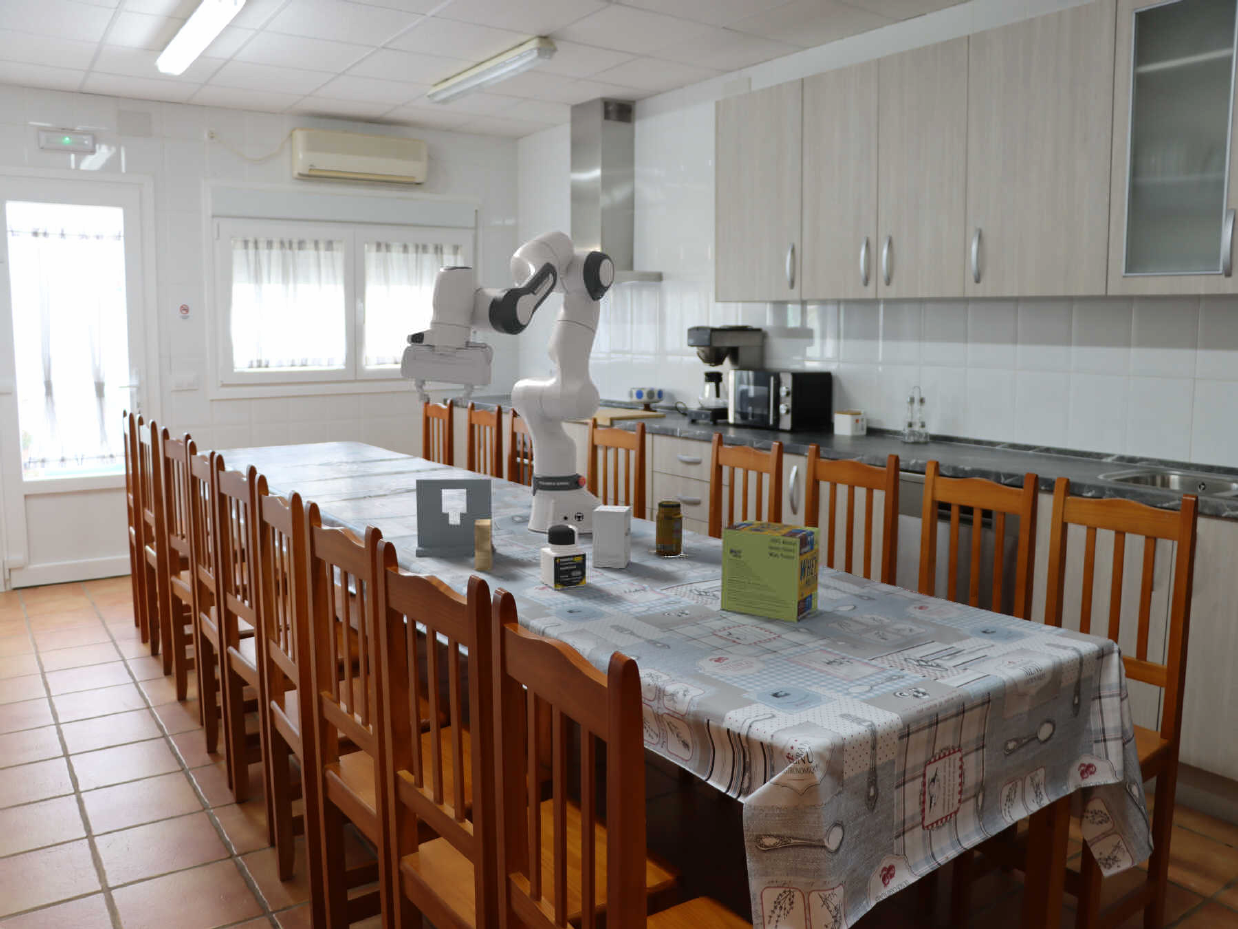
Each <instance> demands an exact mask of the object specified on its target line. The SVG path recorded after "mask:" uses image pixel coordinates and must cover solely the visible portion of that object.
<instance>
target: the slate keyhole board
mask: <svg viewBox="0 0 1238 929" xmlns="http://www.w3.org/2000/svg"><path fill="white" fill-rule="evenodd" d="M415 488H416V489H415V490H416V492H415V493H416V494H415V496H416V531H417V532H416V533H417V535H416V536H417V537H416V538H417V539H416V540H417V547H416V548H415V557H445V556H446V557H449V556H450V557H455V556H456V557H457V556H458V557H459V556H462V557H463V556H466V555H467V556H475V522H476V520H477V519H491V538H492V539H493V527H492V525H493V518H492V517H493V516H492V514H493V512H492V511H493V510H492V509H493V508H492V478H426V479H425V478H422V479H421V478H419V479H418V478H416V479H415ZM443 490H465V499H466V500H465V502H466V504H465V505H466V506H465V507H466V508H465V509H466V511H460V512H459V523H450V512H448V511H446V512H445V511H443ZM492 543H493V544H494V541H493V540H492Z"/></svg>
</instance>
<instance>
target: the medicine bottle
mask: <svg viewBox="0 0 1238 929" xmlns="http://www.w3.org/2000/svg"><path fill="white" fill-rule="evenodd" d="M547 546H548V547H542V548H540V582H541V583H542V582H543V583H542V584H544V585H546V584H547V585H548V586H547V585H546V586H547V587H549V586H550V587H549V588H551V587H552V588H553V590H554V589H557V590H560V589H559V588H565V587H571V586H580V587H582V586H581V585H585V586H587V552H586V551H585V550H583V549H580V548H578V546H579V533H578V529H577V528H576V527H574V526H571V525H555V526H552V527H550V528H549V529H548V533H547ZM552 588H551V589H552ZM565 589H566V588H565Z"/></svg>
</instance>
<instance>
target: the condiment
mask: <svg viewBox="0 0 1238 929" xmlns="http://www.w3.org/2000/svg"><path fill="white" fill-rule="evenodd" d="M657 506H658V507H657V511H658V512H657V514H656V516H655V517H656V518H655V521H656V523H655V549H649V550H648V552H650V553H651V554H653V555H655V556H657V557H658V558H661V559H680V558H679V557H677V558H676V557H668V556H677V555H679V554H681V551H682V548H683V515H682V509H681V507H682V504H681V502H679V501H674V500H662V501H659V502H658V503H657ZM654 551H656V552H654ZM665 556H667V557H665ZM680 556H684V557H683V558H687V557H686V556H689V557H691V555H690V554H688V553H686V554H685V555H680Z"/></svg>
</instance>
